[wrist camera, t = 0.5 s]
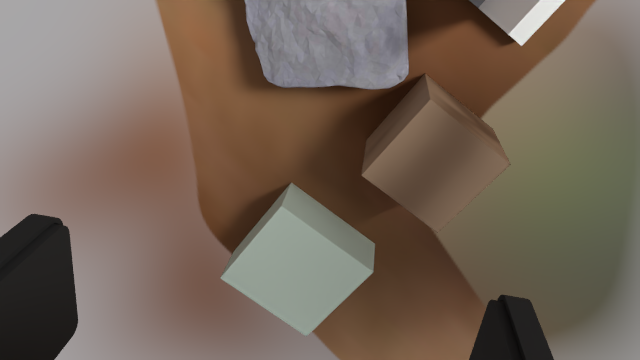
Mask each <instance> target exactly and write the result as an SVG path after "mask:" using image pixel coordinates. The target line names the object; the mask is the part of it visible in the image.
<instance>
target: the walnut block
mask: <svg viewBox="0 0 640 360" xmlns="http://www.w3.org/2000/svg"><path fill="white" fill-rule="evenodd" d="M509 165H510V162H509V160H508V158H507V156H506V155H505V152H504V150H503V148H502V146H501V145H500V142H499V140H498V139H497V136H496V134H495V132H494V130H493V129H492V128H491V127H490V126H489V125H487V124H486V123H485V122H484V121H483V120H481V119H480V118H479V117H477V116H476V115H475V114H474V113H473V112H471V111H470V110H469V109H468V108H466V107H465V106H464V105H463V104H462V103H460V102H459V101H458V100H457V99H456V98H454V97H453V96H452V95H451V94H449V93H448V92H447V91H446V90H445V89H443V88H442V87H441V86H440V85H438V84H437V83H436V82H435V81H434V80H432V79H431V78H430V77H429V76H427V75H426V74H424V75H423V76H422V77H421V78H420V80H419V81H418V82H417V83H416V84H415V85H414V86H413V88H412V89H411V90H410V91H409V92H408V93H407V94H406V95H405V97H404V98H403V99H402V100H401V101H400V102H399V103H398V105H397V106H396V107H395V108H394V109H393V110H392V111H391V113H390V114H389V115H388V116H387V117H386V118H385V119H384V120H383V122H382V123H381V124H380V125H379V126H378V127H377V128H376V130H375V131H374V132H373V133H372V134H371V135H370V136H369V138H368V139H367V140H366V146H365V154H364V161H363V168H362V176H363V177H364V178H366V179H367V180H368V181H370V182H371V183H372V184H374V185H375V186H376V187H378V188H379V189H380V190H382V191H383V192H384V193H386V194H387V195H388V196H390V197H391V198H392V199H394V200H395V201H396V202H397V203H399V204H400V205H401V206H403V207H404V208H405V209H407V210H408V211H409V212H411V213H412V214H413V215H415V216H416V217H417V218H419V219H420V220H421V221H423V222H424V223H425V224H427V225H428V226H429V227H430V228H432V229H433V230H434V231H436V232H437V233H438V232H439V231H440V230H441V229H442V228H443V227H444V226H445V225H446V224H447V223H449V221H451V220H452V219H453V218H454V217H455V216H456V215H457V214H458V213H459V212H460V211H461V210H462V209H463V208H465V207H466V206H467V205H468V204H469V203H470V202H471V201H472V200H473V199H474V198H475V197H476V196H477V195H478V194H479V193H481V192H482V191H483V190H484V189H485V188H486V187H487V186H488V185H489V184H490V183H491V182H492V181H493V180H494V179H495V178H497V177H498V176H499V175H500V174H501V173H502V172H503V171H504V170H505V169H506V168H507V167H508V166H509Z"/></svg>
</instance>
